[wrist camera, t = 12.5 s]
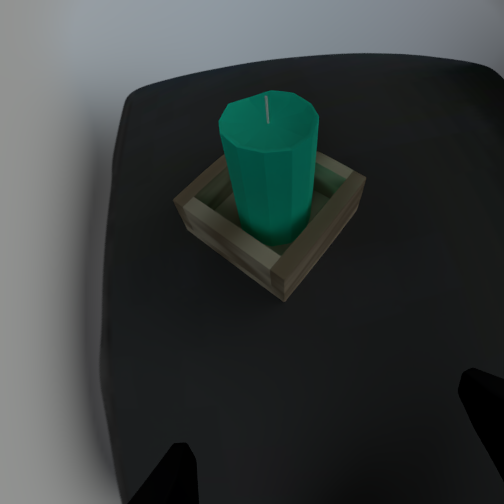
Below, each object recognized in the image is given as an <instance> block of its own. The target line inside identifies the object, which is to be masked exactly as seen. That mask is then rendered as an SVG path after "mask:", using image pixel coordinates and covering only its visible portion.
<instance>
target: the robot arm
mask: <svg viewBox="0 0 504 504" xmlns="http://www.w3.org/2000/svg"><path fill="white" fill-rule="evenodd" d="M458 394H459V397H460V399H461V401H462V403H463V405H464V407H465V410H466V412H467V414H468V416H469V418H470V421H471V423H472V425H473V427H474V429H475V431H476V432H477V434H478V436H479V438H480V439H481V441H482V443H483V445H484V446H485V448H486V450H487V452H488V453H489V455H490V457H491V459H492V461H493V462H494V464H495V466H496V468H497V470H498V472H499V473H500V475H501V477H502V479H503V481H504V379H502V378H500V377H497V376H494V375H491V374H489V373H486V372H483V371H481V370H478V369H476V368H470V369H468V370H466V371H464V372H463V373H462V376H461V380H460V384H459V387H458ZM128 504H199V496H198V480H197V463H196V458H195V456H194V454H193V452H192V451H191V449H190V447H189V445H188V444H187V443H174V444H173V445H172V446H171V447H170V449H169V450H168V451H167V453H166V454H165V455H164V457H163V458H162V459H161V461H160V462H159V463H158V465H157V466H156V467H155V469H154V470H153V471H152V473H151V474H150V475H149V477H148V478H147V479H146V480H145V482H144V483H143V484H142V486H141V487H140V488H139V490H138V491H137V492H136V493H135V495H134V496H133V497H132V498H131V500H130V501H129V502H128Z"/></svg>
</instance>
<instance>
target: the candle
mask: <svg viewBox="0 0 504 504" xmlns="http://www.w3.org/2000/svg"><path fill="white" fill-rule="evenodd" d="M318 124H319V116H318V114H317V112H316V111H315V109H314V107H313V106H312V104H311V103H309V102H308V101H306V100H305V99H303V98H301V97H300V96H298V95H296V94H295V93H291V92H282V91H273V90H270V91H267V92H264V93H261V94H258V95H255V96H252V97H249V98H245V99H242V100H239V101H235V102H232V103H229V104H228V105H227V107H226V109H225V110H224V112H223V114H222V116H221V118H220V120H219V130H220V136H221V140H222V145H223V149H224V154H225V158H226V162H227V167H228V171H229V175H230V180H231V184H232V189H233V193H234V197H235V202H236V206H237V210H238V215H239V219H240V223H241V228H242V230H243V231H245V232H246V233H248V234H249V235H251V236H252V237H254V238H255V239H257V240H258V241H259V242H261V243H262V244H265V245H268V246H277V245H283V244H288V243H292V242H293V241H294V240H295V239H296V238H297V237H298V236H299V235H300V234H301V233H302V231H303V230H304V229H305V228H306V227H307V225H308V222H309V219H310V214H311V204H312V195H313V184H314V174H315V162H316V151H317V138H318Z"/></svg>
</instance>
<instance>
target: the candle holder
mask: <svg viewBox="0 0 504 504" xmlns="http://www.w3.org/2000/svg"><path fill="white" fill-rule="evenodd" d="M365 181H366V177H364V176H363V175H361V174H359V173H357V172H356V171H354V170H352V169H350V168H348V167H347V166H345V165H343V164H341V163H339V162H337V161H336V160H334V159H332V158H330V157H328V156H326V155H324V154H322V153H320V152H318V151H316V162H315V174H314V184H313V195H312V204H311V214H310V219H309V222H308V225H307V227H306V228H305V229H304V230H303V231H302V233H301V234H300V235H299V236H298V237H297V238H296V239H295V240H294V241H293V242H292V243H288V244H283V245H277V246H268V245H265V244H262V243H261V242H259V241H258V240H257V239H255V238H254V237H252V236H251V235H249V234H248V233H246V232H245V231H243V230H242V228H241V223H240V219H239V215H238V210H237V206H236V202H235V197H234V193H233V189H232V184H231V180H230V175H229V171H228V167H227V162H226V158H225V154H223V155H222V156H221V157H220V158H219V159H218V160H216V161H215V162H214V163H213V164H212V165H211V166H210V167H208V168H207V169H206V170H205V171H204V172H203V173H202V174H201V175H199V176H198V177H197V178H196V179H195V180H194V181H193V182H192V183H191V184H189V185H188V186H187V187H186V188H185V189H184V190H183V191H182V192H181V193H180V194H179V195H178V196H176V197H175V198H174V199H173V202H174V204H175V206H176V208H177V210H178V212H179V214H180V216H181V218H182V220H183V222H184V224H185V226H186V228H187V230H188V231H190V232H191V233H192V234H194V235H195V236H196V237H198V238H199V239H200V240H202V241H203V242H204V243H205V244H207V245H208V246H209V247H211V248H212V249H213V250H215V251H216V252H217V253H219V254H220V255H221V256H223V257H224V258H225V259H227V260H228V261H229V262H231V263H232V264H233V265H235V266H236V267H237V268H239V269H240V270H241V271H243V272H244V273H245V274H247V275H248V276H249V277H251V278H252V279H253V280H255V281H256V282H257V283H259V284H260V285H261V286H263V287H264V288H266V289H267V290H268V291H270V292H271V293H272V294H274V295H275V296H276V297H278V298H279V299H280V300H282V301H283V302H285V301H286V300H287V299H288V297H289V296H290V295H291V294H292V293H293V291H294V290H295V289H296V288H297V286H298V285H299V284H300V283H301V281H302V280H303V279H304V278H305V276H306V275H307V274H308V273H309V271H310V270H311V269H312V268H313V266H314V265H315V264H316V263H317V261H318V260H319V259H320V258H321V256H322V255H323V254H324V252H325V251H326V250H327V249H328V247H329V246H330V245H331V243H332V242H333V241H334V240H335V238H336V237H337V236H338V234H339V233H340V232H341V230H342V229H343V228H344V226H345V225H346V224H347V222H348V221H349V220H350V219H351V217H352V216H353V215H354V213H355V212H356V210H357V208H358V205H359V201H360V198H361V195H362V191H363V188H364V185H365Z"/></svg>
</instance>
